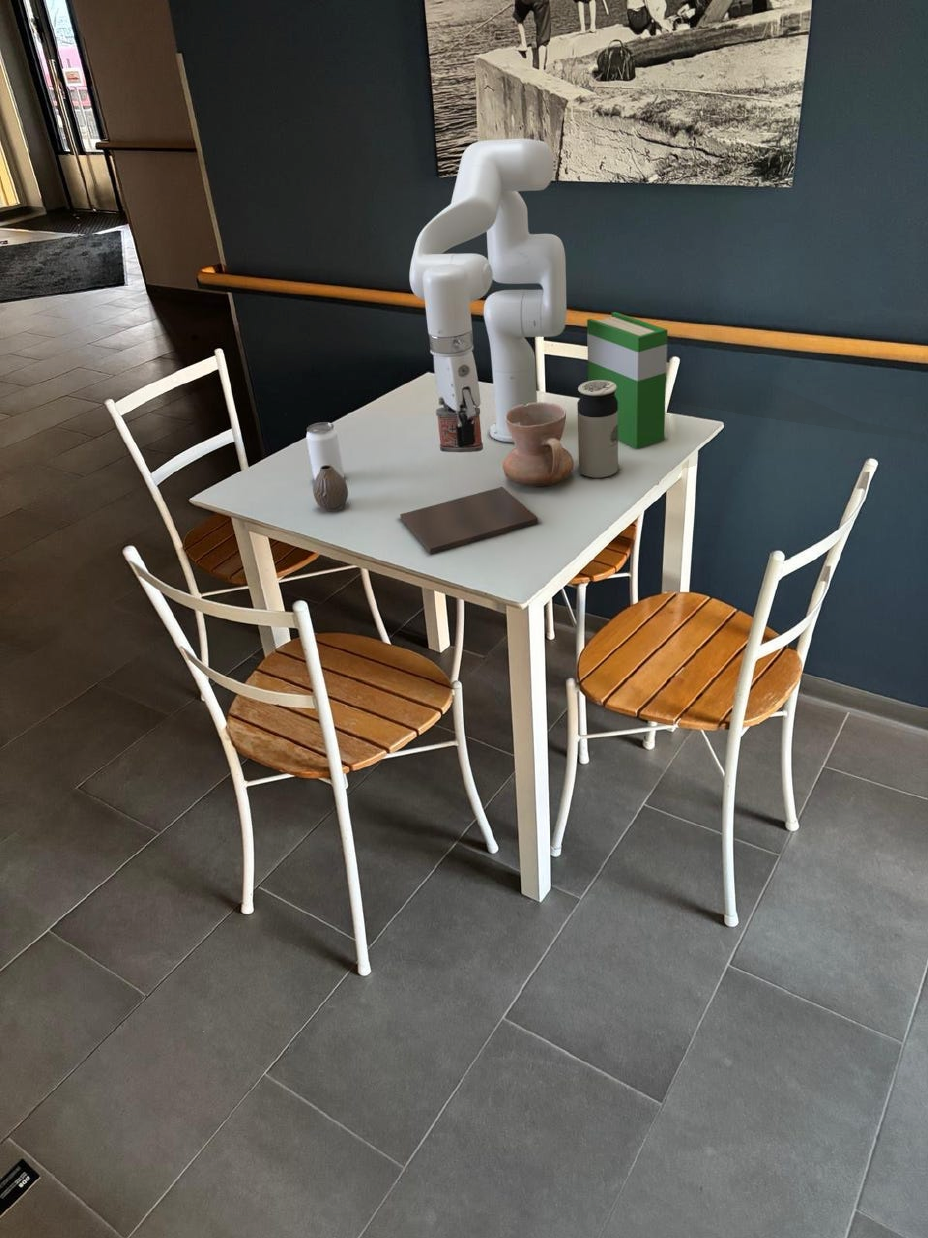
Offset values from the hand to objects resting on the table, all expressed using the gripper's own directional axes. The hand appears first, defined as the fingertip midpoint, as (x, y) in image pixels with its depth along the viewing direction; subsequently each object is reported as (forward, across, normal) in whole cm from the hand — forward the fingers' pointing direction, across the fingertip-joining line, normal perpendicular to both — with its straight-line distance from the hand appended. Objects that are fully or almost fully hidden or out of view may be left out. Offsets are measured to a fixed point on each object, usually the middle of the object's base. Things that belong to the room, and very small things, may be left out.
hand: (460, 439), depth 172 cm
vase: (+17, +21, +21) cm, 34 cm away
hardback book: (+17, +20, -47) cm, 54 cm away
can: (+17, +34, +18) cm, 42 cm away
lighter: (+2, 0, 0) cm, 2 cm away
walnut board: (+17, 0, 0) cm, 17 cm away
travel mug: (+17, +6, -32) cm, 37 cm away
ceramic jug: (+17, +9, -20) cm, 28 cm away
